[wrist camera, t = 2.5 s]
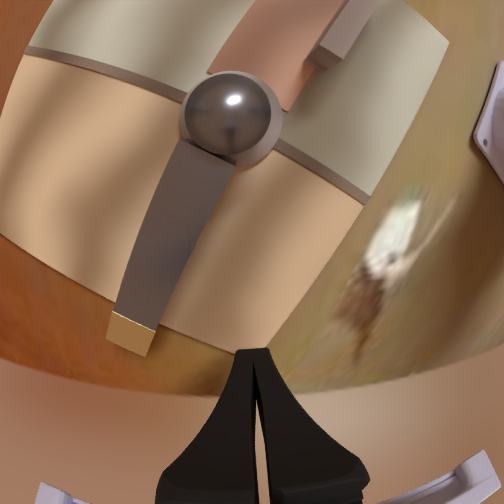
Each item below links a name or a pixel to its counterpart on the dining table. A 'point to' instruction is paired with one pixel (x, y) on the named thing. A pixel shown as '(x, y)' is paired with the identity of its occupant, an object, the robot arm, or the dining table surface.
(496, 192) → the dining table surface
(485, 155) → the robot arm
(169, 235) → the bar
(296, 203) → the door board
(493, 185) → the dining table surface
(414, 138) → the dining table surface
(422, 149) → the dining table surface
